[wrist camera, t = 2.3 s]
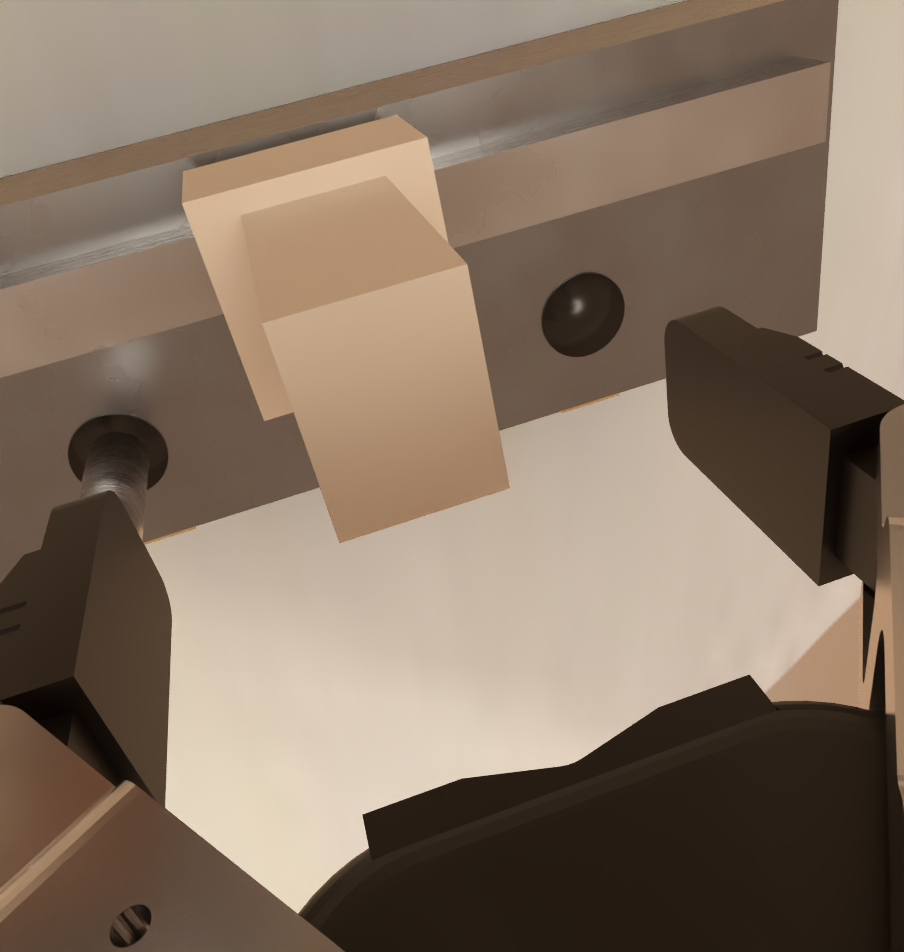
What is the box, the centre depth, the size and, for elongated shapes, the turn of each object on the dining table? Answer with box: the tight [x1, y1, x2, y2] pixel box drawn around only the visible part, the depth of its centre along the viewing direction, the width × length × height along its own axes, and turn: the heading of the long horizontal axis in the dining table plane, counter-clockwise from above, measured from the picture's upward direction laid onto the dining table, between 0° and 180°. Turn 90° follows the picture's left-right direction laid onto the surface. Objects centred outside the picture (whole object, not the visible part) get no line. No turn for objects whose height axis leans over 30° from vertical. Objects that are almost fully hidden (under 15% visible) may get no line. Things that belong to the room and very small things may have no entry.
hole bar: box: [0, 0, 838, 583], centre depth 22 cm, size 10×28×11 cm, turn 103°
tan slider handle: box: [182, 115, 510, 543], centre depth 18 cm, size 8×5×10 cm, turn 13°
